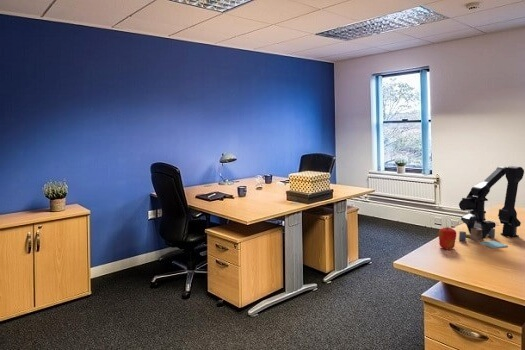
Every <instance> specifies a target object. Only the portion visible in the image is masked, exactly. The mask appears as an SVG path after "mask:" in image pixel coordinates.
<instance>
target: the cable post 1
mask: <svg viewBox="0 0 525 350" xmlns="http://www.w3.org/2000/svg"><path fill="white" fill-rule="evenodd" d="M458 238H459V240H458V241H459V242H462V243H463V242H465V243H466V242H467V240H466V239H467V232H466V231H463V230H462V231H459V236H458Z"/></svg>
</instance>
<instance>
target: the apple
mask: <svg viewBox="0 0 525 350" xmlns="http://www.w3.org/2000/svg"><path fill="white" fill-rule="evenodd" d="M437 234H438V243H439V246H440V247H441V249H444V250H453V249H454V247H456V238H457V231H456V229H453V227H452V228H451V227H449V226H447V227H443V228H440V229H439V230H438V233H437Z"/></svg>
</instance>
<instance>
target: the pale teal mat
mask: <svg viewBox="0 0 525 350" xmlns="http://www.w3.org/2000/svg"><path fill="white" fill-rule="evenodd" d="M478 244H480V245H483V246H486V247H488V248H491V249H499V248H508V244H504V243H501V242H499V241H495V240H489V241H479V243H478Z"/></svg>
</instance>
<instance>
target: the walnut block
mask: <svg viewBox="0 0 525 350" xmlns="http://www.w3.org/2000/svg"><path fill="white" fill-rule="evenodd" d="M469 238H470V239H471V240H473V241H476V242H477V241H479V242H480V241H484V240H485V239H483V237H482V229H481V228H478V227H477V228H471V234H470V237H469Z"/></svg>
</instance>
